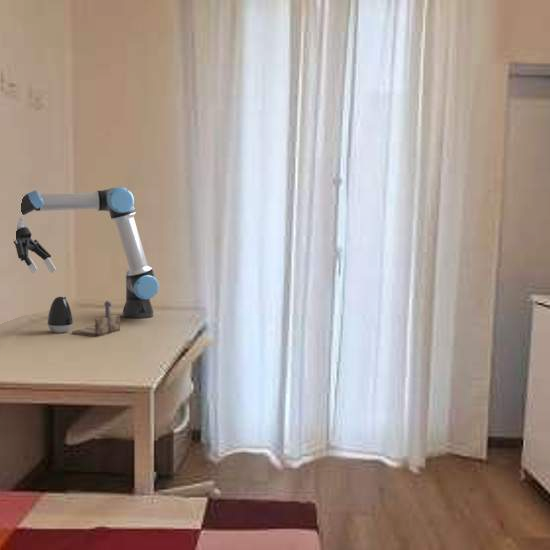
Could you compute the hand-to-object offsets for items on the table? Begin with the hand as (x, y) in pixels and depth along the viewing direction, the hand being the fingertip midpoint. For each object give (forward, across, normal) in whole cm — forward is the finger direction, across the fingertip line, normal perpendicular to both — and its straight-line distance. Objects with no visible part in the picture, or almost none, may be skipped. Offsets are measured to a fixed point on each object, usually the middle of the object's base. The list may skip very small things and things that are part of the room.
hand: (44, 271), depth 278 cm
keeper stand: (+34, -5, +2) cm, 34 cm away
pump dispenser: (+25, -1, -10) cm, 27 cm away
